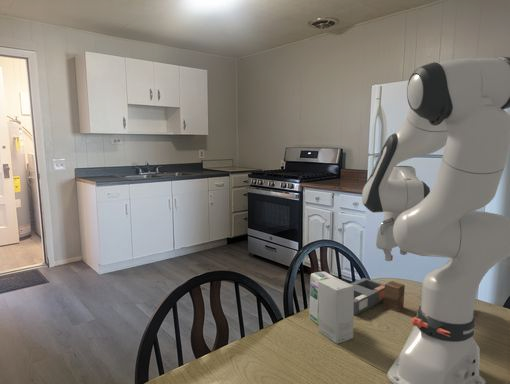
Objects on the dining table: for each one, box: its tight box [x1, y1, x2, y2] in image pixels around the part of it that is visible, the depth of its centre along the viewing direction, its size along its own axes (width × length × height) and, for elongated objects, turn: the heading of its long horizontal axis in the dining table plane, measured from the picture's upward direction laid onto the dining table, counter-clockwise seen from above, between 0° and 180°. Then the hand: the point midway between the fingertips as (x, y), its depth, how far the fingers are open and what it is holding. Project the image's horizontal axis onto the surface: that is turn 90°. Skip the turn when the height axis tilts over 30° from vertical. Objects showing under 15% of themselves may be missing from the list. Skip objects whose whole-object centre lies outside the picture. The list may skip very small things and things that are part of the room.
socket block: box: [349, 277, 385, 317], centre depth 122 cm, size 20×10×5 cm, turn 130°
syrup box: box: [308, 271, 334, 326], centre depth 109 cm, size 6×6×14 cm
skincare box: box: [318, 276, 354, 345], centre depth 100 cm, size 8×7×16 cm
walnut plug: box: [383, 280, 406, 312], centre depth 118 cm, size 4×4×8 cm
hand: (396, 257), depth 116 cm, fingers open, 8 cm apart
